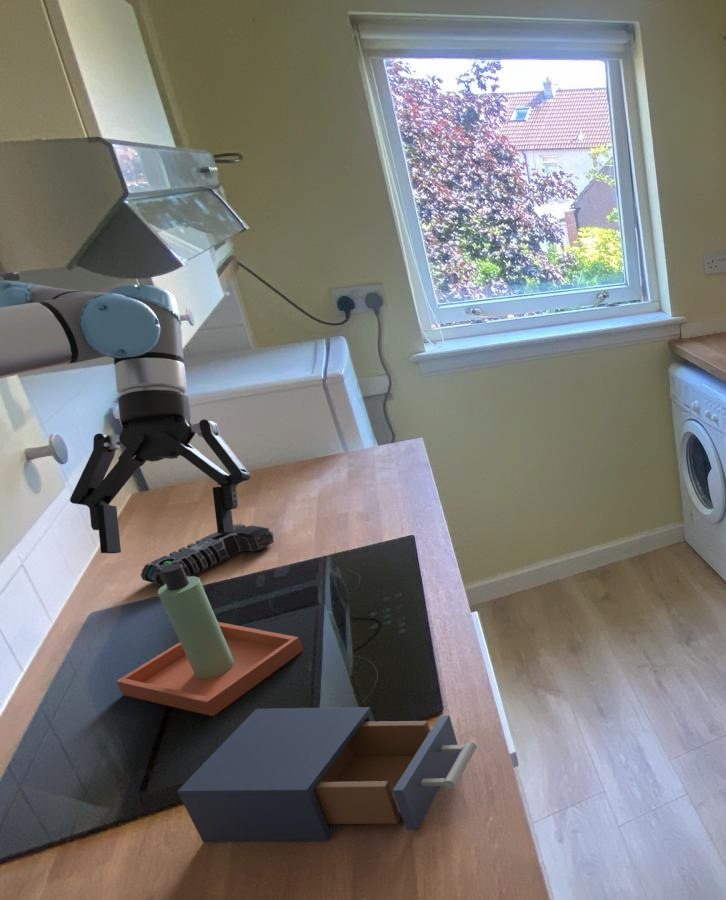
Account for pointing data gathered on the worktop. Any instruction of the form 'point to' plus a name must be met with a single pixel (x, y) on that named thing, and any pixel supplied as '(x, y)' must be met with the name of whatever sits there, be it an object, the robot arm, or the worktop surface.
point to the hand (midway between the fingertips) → (169, 543)
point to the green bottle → (194, 623)
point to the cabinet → (270, 776)
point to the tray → (180, 688)
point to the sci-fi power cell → (210, 551)
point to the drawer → (392, 772)
